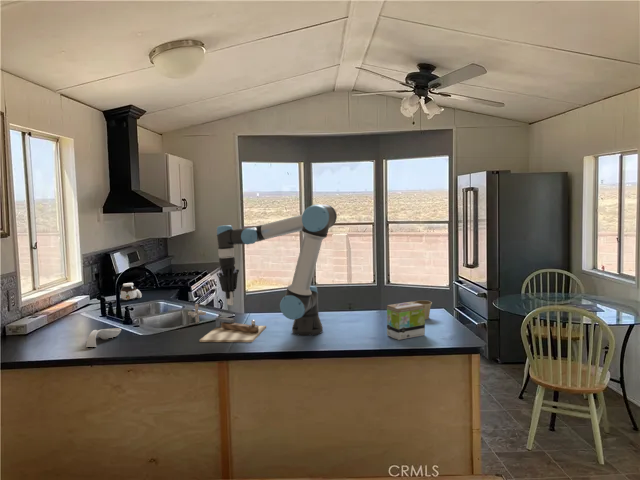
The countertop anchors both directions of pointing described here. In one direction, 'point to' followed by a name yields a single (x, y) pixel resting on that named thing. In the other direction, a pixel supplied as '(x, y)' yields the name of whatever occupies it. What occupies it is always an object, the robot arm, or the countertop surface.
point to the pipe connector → (196, 313)
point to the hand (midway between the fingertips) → (230, 304)
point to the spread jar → (130, 292)
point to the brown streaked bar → (240, 327)
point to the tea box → (405, 320)
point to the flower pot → (427, 307)
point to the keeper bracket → (223, 319)
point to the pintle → (253, 322)
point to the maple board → (231, 335)
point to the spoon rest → (101, 335)
